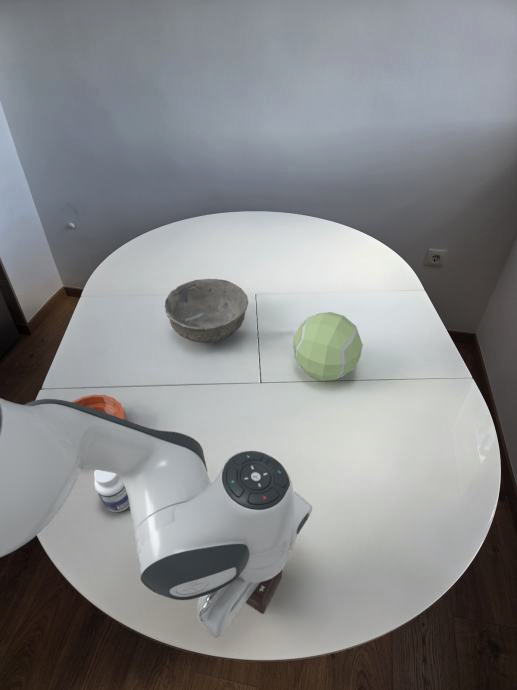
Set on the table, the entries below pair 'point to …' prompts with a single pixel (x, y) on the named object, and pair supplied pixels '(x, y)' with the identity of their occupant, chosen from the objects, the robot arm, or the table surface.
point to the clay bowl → (103, 405)
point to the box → (264, 593)
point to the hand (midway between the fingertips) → (256, 579)
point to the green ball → (327, 346)
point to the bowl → (206, 309)
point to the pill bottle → (111, 490)
